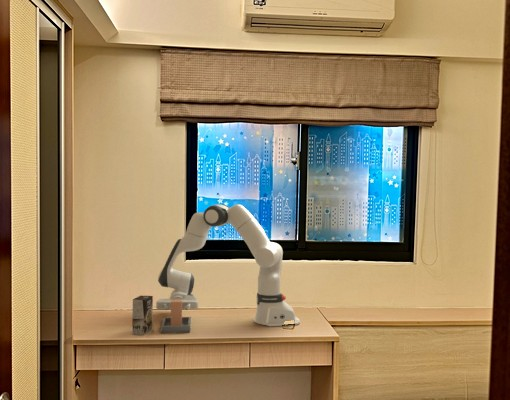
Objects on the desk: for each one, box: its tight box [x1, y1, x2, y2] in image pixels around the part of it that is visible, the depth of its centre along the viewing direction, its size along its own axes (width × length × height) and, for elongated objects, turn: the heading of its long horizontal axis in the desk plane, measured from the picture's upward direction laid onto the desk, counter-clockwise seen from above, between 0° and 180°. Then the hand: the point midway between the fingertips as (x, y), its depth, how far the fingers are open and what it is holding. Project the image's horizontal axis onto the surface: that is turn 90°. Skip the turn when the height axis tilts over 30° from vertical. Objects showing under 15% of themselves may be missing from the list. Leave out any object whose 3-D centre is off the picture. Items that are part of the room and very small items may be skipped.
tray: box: [160, 316, 192, 334], centre depth 247 cm, size 13×16×3 cm
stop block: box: [170, 299, 183, 326], centre depth 246 cm, size 5×5×12 cm
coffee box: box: [131, 295, 154, 336], centre depth 239 cm, size 9×6×16 cm
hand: (176, 307), depth 248 cm, fingers open, 8 cm apart
